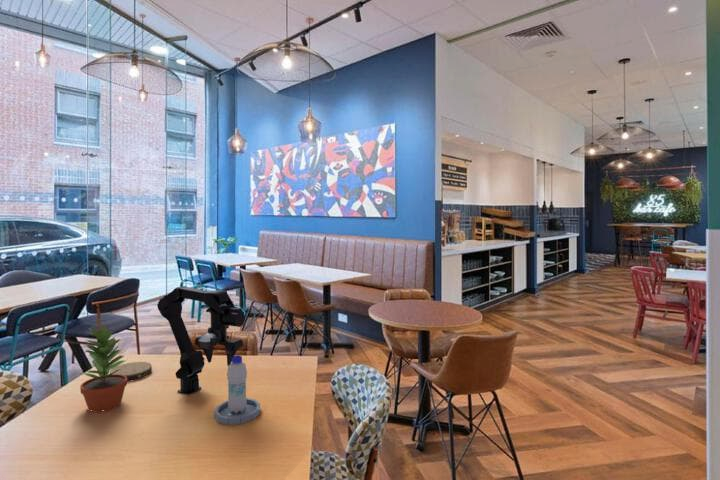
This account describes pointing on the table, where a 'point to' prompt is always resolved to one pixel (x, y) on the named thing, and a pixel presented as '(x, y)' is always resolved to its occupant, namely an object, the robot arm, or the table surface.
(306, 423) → the table surface
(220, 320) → the robot arm
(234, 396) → the bottle
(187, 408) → the table surface
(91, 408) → the potted plant
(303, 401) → the table surface
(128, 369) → the wood slice
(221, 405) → the bowl
